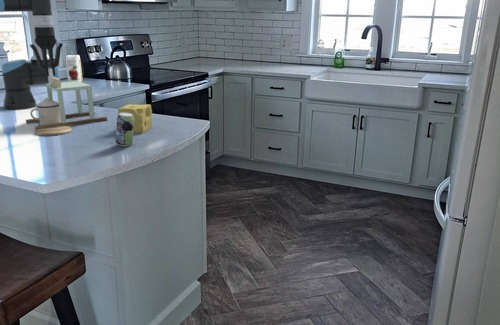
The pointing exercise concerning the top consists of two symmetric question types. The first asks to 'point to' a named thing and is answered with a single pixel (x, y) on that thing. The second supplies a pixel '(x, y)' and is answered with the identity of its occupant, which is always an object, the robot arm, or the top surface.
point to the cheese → (139, 116)
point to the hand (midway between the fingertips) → (51, 83)
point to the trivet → (53, 131)
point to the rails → (70, 121)
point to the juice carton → (74, 68)
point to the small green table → (67, 87)
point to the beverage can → (124, 129)
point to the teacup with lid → (48, 112)
